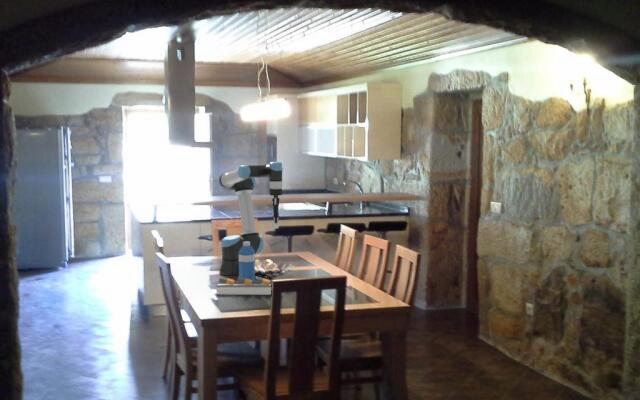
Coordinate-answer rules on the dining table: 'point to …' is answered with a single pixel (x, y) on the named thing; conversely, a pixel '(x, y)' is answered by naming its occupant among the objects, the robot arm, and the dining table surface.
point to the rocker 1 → (226, 280)
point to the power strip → (244, 288)
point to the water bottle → (247, 261)
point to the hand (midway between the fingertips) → (276, 228)
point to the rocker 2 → (244, 280)
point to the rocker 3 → (262, 280)
